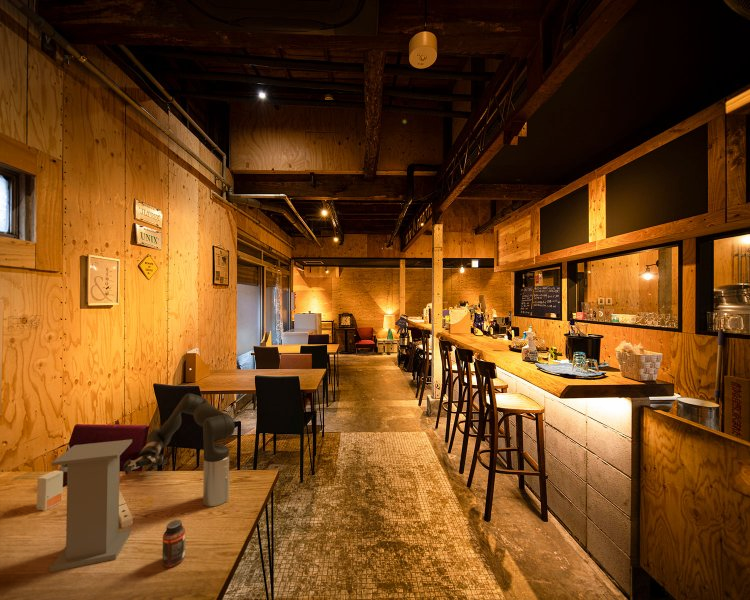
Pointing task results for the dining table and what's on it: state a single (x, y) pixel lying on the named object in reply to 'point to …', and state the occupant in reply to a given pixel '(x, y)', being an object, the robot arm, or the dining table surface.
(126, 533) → the gray lectern stand
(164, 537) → the supplement bottle
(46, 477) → the skincare box
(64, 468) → the mate gourd
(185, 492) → the dining table surface
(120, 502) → the white long bar
